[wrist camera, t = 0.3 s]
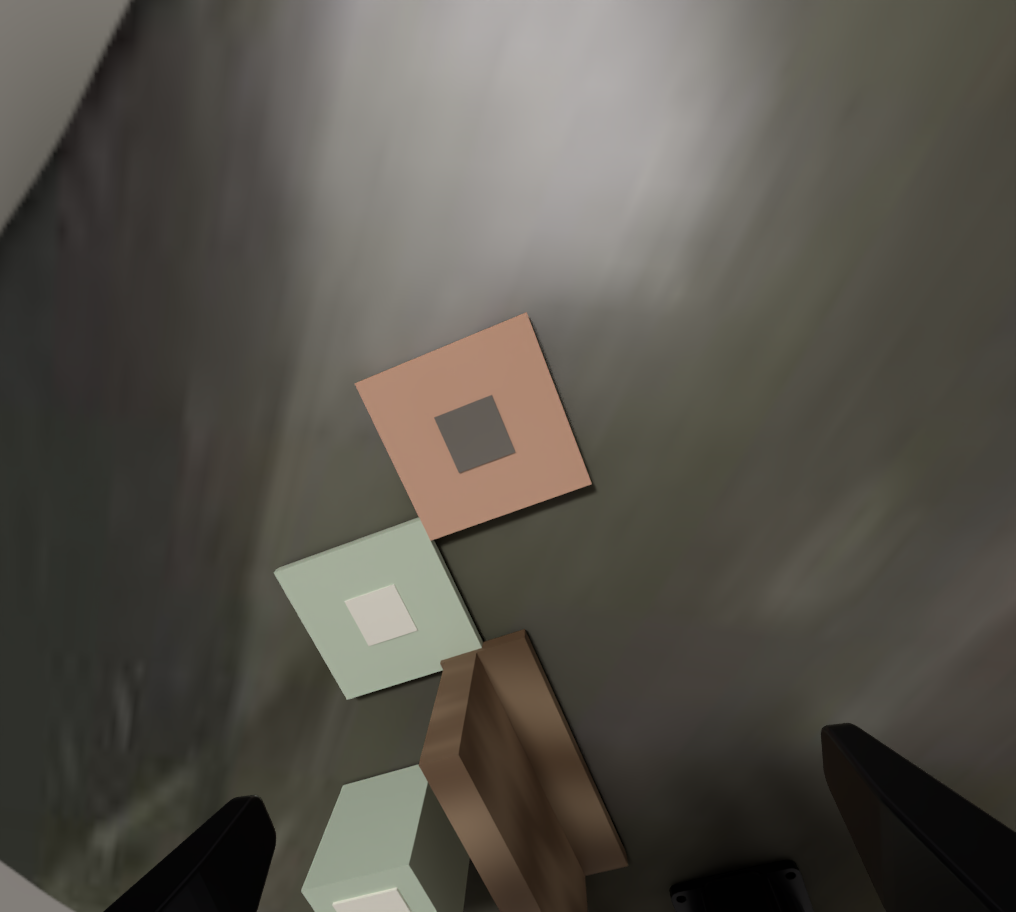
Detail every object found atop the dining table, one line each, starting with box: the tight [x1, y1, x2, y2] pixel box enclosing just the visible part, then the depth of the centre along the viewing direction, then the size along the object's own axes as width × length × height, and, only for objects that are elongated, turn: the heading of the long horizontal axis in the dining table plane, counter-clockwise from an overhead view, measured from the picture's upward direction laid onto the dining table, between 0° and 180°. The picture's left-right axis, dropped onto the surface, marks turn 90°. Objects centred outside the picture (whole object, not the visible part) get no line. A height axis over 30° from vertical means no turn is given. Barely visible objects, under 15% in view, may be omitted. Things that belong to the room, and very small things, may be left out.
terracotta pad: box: [355, 312, 592, 541], centre depth 21 cm, size 7×7×1 cm
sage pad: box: [274, 517, 483, 700], centre depth 24 cm, size 7×7×1 cm
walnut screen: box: [419, 629, 628, 912], centre depth 23 cm, size 14×4×6 cm, turn 22°
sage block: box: [301, 764, 470, 912], centre depth 25 cm, size 5×5×5 cm
